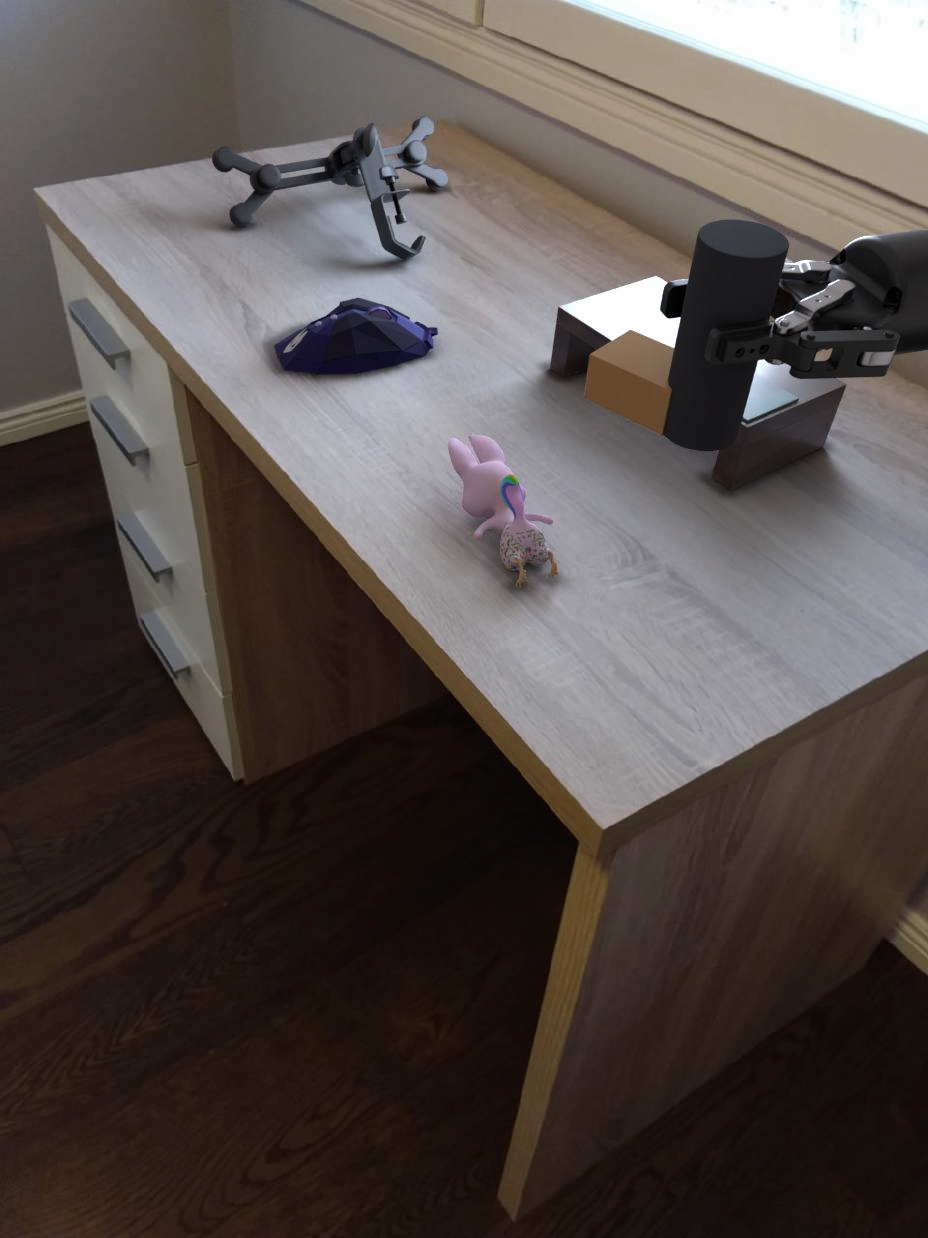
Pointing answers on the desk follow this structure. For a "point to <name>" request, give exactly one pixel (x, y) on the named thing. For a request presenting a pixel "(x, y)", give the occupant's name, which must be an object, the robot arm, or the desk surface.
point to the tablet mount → (346, 177)
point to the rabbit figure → (500, 504)
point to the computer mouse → (355, 340)
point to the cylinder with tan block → (696, 343)
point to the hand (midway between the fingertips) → (687, 323)
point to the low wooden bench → (777, 403)
